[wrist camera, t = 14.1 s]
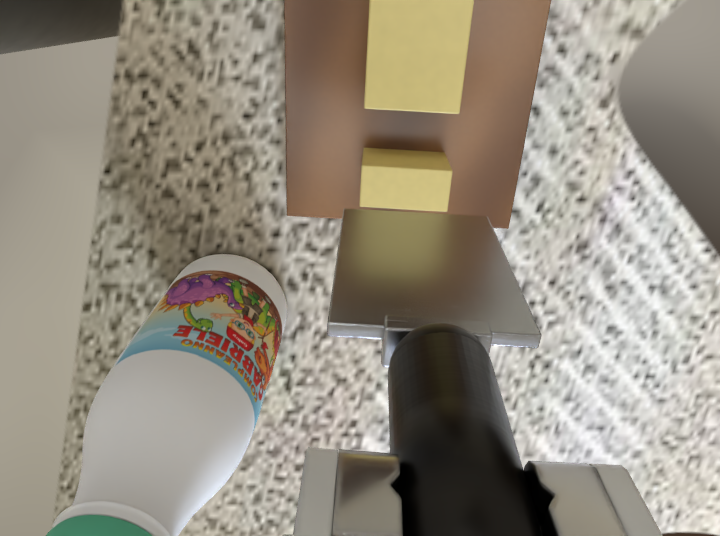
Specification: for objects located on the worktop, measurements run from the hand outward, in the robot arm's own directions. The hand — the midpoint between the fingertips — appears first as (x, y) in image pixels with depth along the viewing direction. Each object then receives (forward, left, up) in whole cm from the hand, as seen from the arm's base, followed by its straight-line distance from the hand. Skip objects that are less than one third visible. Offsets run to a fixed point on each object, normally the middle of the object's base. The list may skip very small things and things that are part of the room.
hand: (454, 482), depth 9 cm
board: (0, +4, -25) cm, 25 cm away
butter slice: (0, -1, -23) cm, 23 cm away
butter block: (0, +5, -23) cm, 24 cm away
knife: (0, 0, -11) cm, 11 cm away
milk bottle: (-10, -12, -25) cm, 29 cm away
